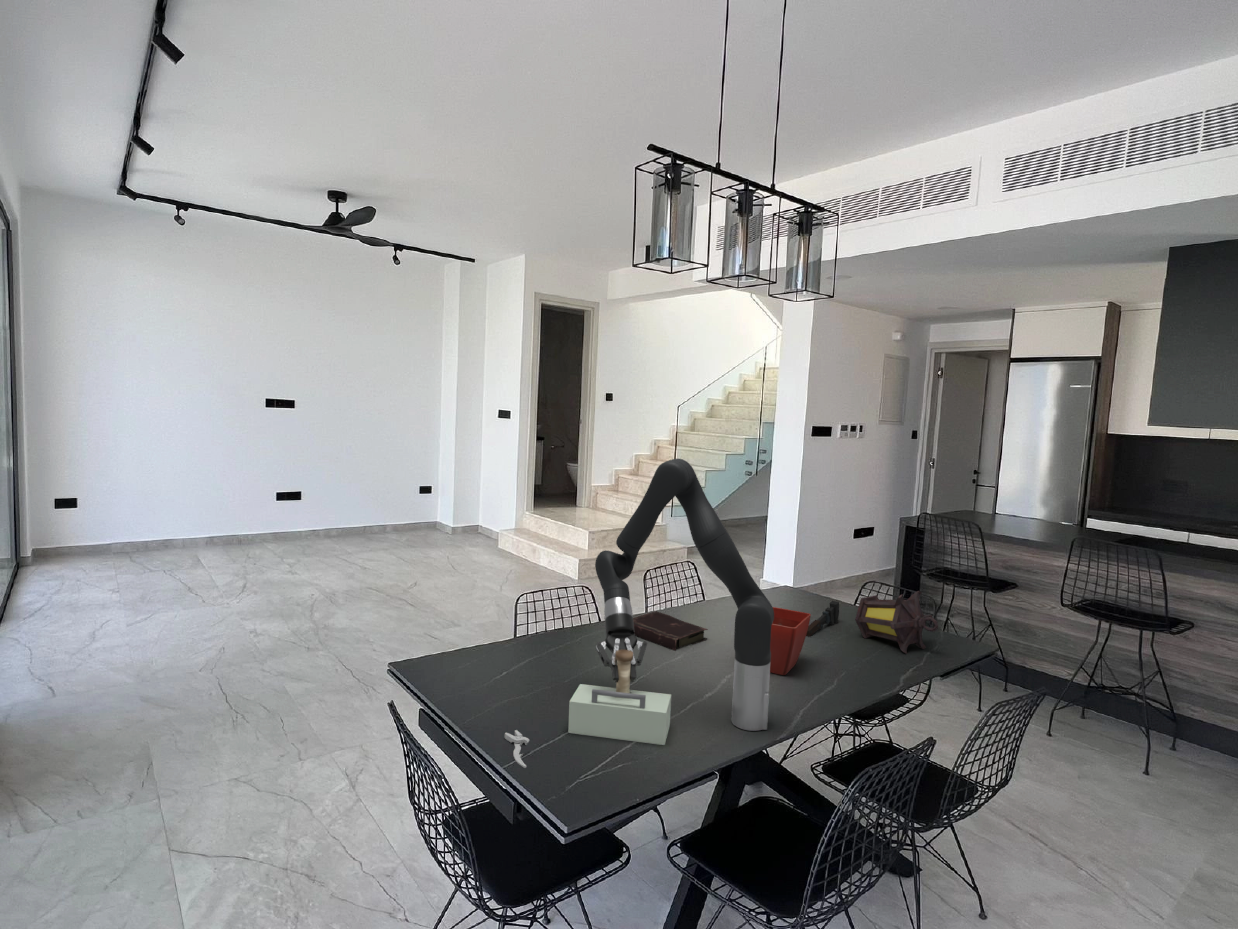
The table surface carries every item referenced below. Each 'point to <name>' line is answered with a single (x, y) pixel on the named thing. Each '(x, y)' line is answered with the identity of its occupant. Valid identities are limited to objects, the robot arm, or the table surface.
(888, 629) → the lantern
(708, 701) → the table surface
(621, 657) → the beige long cylinder
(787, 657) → the plant pot
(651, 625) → the diary
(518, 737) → the pliers
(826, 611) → the dark stepped piece
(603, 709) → the toolbox
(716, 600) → the table surface
